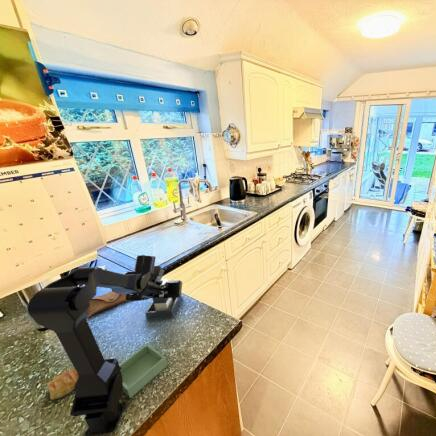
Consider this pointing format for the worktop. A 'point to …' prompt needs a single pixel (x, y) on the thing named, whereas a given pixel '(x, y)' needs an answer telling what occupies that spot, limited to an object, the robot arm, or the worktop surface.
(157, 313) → the tray
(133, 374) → the front tote
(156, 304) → the package
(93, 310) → the sunglasses case
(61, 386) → the pastry
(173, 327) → the worktop surface
